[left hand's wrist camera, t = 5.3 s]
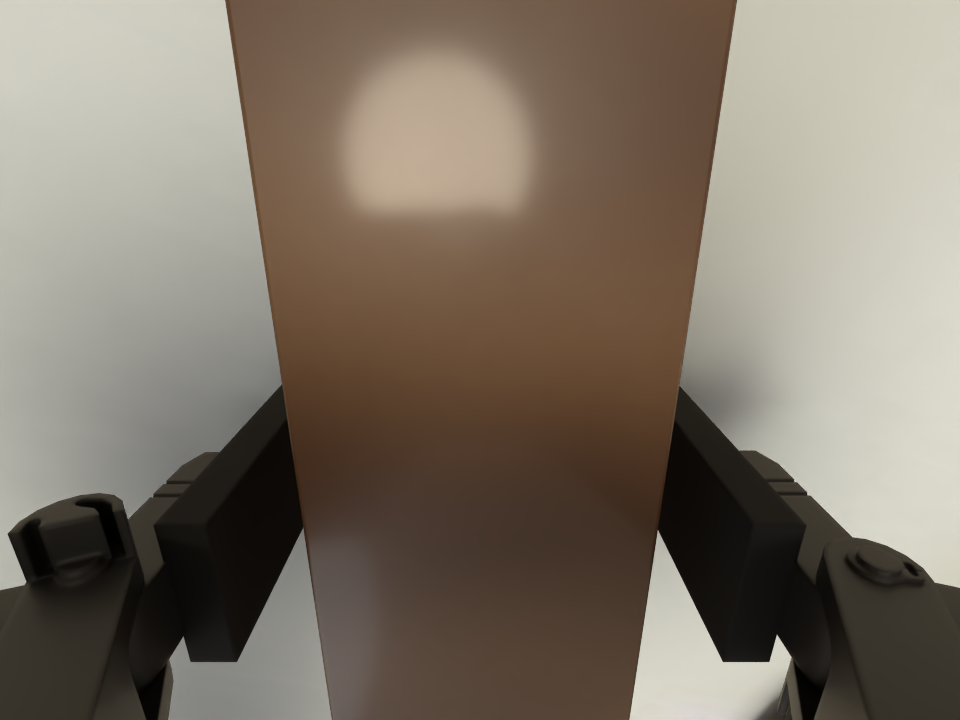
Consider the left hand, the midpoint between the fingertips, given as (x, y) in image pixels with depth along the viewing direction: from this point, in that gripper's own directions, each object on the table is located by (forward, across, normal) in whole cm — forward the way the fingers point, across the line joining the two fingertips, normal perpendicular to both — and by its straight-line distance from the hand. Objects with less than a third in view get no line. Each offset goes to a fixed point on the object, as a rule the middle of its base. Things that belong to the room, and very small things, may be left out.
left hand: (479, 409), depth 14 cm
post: (+1, 0, -26) cm, 27 cm away
